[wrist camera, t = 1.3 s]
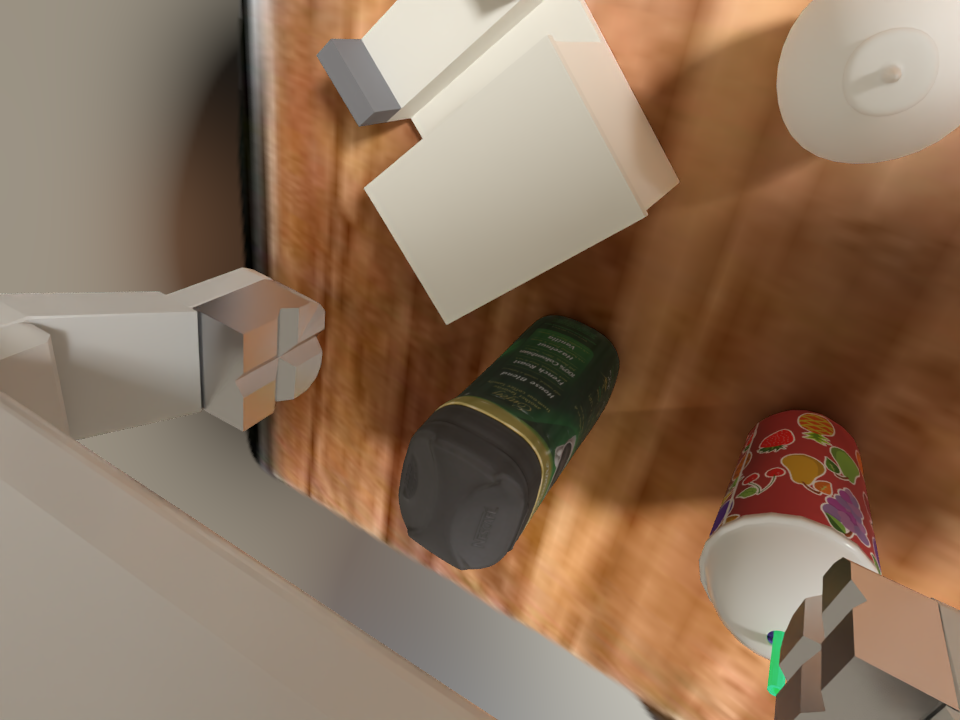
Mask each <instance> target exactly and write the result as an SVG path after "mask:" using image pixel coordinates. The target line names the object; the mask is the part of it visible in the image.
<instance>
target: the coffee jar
mask: <svg viewBox="0 0 960 720" xmlns="http://www.w3.org/2000/svg"><path fill="white" fill-rule="evenodd" d="M618 370H619V358H618V354H617V351H616V349H615V347H614V346H613V345H612V343H611V342H610V341H609V340H608V339H607V338H606V337H605V336H604V335H602V334H601V333H599V332H598V331H596V330H595V329H593V328H591V327H589V326H587V325H585V324H583V323H581V322H579V321H576V320H574V319H571V318H567V317H563V316H557V315H550V316H545V317H543V318H541V319H539V320H537V321H536V322H535V323H534V324H533V325H532V326H531V327H529V328H528V329H527V330H526V331H525V332H524V333H523V334H522V335H521V336H520V337H519V338H518V339H517V340H516V341H515V342H514V343H513V344H512V345H511V346H510V347H509V348H508V349H507V350H506V351H505V352H504V353H503V354H502V355H501V356H500V357H499V358H498V359H497V360H496V361H495V362H494V363H493V364H492V365H491V366H490V367H489V368H487V369H486V370H485V371H484V372H483V373H482V374H481V375H480V376H479V377H478V378H477V379H476V380H475V381H474V382H473V383H472V384H471V385H470V386H469V387H467V388H466V389H465V390H464V391H463V392H462V393H461V394H460V395H458V396H457V397H456V398H454V399H452V400H450V401H448V402H446V403H444V404H443V405H442V406H440V407H439V408H438V409H437V410H436V411H435V412H434V413H433V414H432V415H431V416H430V417H429V418H428V420H427V421H426V422H425V423H424V424H423V425H422V426H421V427H420V428H419V429H418V430H417V432H416V433H415V434H414V435H413V437H412V439H411V441H410V444H409V447H408V450H407V453H406V457H405V460H404V464H403V469H402V473H401V480H400V487H399V505H400V510H401V514H402V517H403V520H404V522H405V525H406V527H407V529H408V535H409V536H410V538H412V539H413V540H415V541H416V542H417V543H419V544H420V545H421V546H423V547H424V548H426V549H427V550H429V551H430V552H431V553H433V554H434V555H436V556H437V557H439V558H441V559H442V560H444V561H446V562H447V563H449V564H451V565H452V566H454V567H456V568H458V569H460V570H467V569H482V568H486V567H489V566H492V565H494V564H496V563H497V562H498V561H500V560H501V559H502V558H503V557H504V556H505V555H506V553H507V552H509V551H510V550H512V549H513V546H514V544H515V542H516V541H517V540H518V538H519V536H520V535H521V533H522V532H523V530H524V529H525V527H526V525H527V524H528V522H529V521H530V519H531V518H532V516H533V514H534V513H535V511H536V510H537V508H538V507H539V505H540V504H541V502H542V501H543V499H544V497H545V496H546V494H547V493H548V491H549V490H550V488H551V487H552V486H553V484H554V483H555V481H556V480H557V478H558V477H559V475H560V474H561V472H562V471H563V470H564V468H565V467H566V465H567V463H568V462H569V461H570V459H571V458H572V456H573V455H574V453H575V452H576V450H577V449H578V447H579V446H580V445H581V443H582V442H583V440H584V439H585V437H586V436H587V435H588V433H589V432H590V430H591V429H592V427H593V426H594V424H595V423H596V421H597V420H598V418H599V417H600V415H601V413H602V411H603V410H604V408H605V406H606V404H607V402H608V400H609V398H610V395H611V393H612V391H613V388H614V385H615V382H616V379H617V375H618Z"/></svg>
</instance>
